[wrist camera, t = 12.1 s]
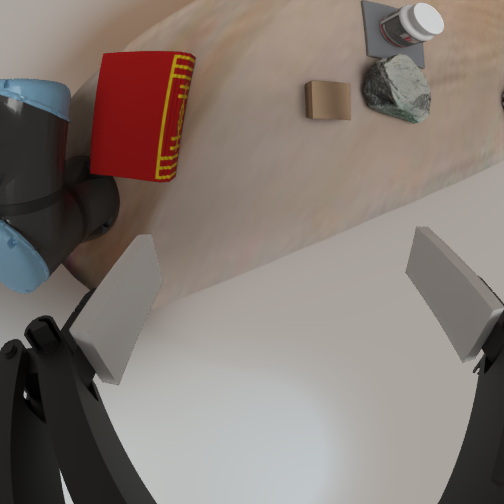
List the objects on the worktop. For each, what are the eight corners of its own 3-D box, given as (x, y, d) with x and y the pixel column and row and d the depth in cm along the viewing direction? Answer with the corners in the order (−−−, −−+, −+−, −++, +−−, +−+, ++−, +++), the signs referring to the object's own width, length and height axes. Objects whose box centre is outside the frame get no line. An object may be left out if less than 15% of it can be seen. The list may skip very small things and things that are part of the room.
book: (177, 174, 40) (167, 183, 35) (105, 165, 39) (90, 173, 34) (197, 58, 31) (188, 52, 27) (119, 57, 30) (103, 53, 26)
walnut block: (306, 117, 35) (312, 118, 31) (304, 84, 33) (311, 80, 28) (339, 118, 35) (350, 120, 30) (339, 86, 32) (349, 83, 28)
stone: (392, 65, 31) (392, 34, 23) (437, 109, 30) (451, 87, 21) (353, 97, 36) (345, 73, 27) (398, 144, 35) (404, 129, 26)
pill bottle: (409, 53, 27) (446, 45, 19) (377, 39, 27) (409, 25, 19) (412, 24, 25) (447, 12, 16) (380, 10, 24) (410, -8, 16)
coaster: (366, 56, 29) (368, 55, 29) (361, 1, 24) (362, 0, 24) (422, 68, 29) (424, 68, 28) (416, 16, 24) (419, 15, 23)
